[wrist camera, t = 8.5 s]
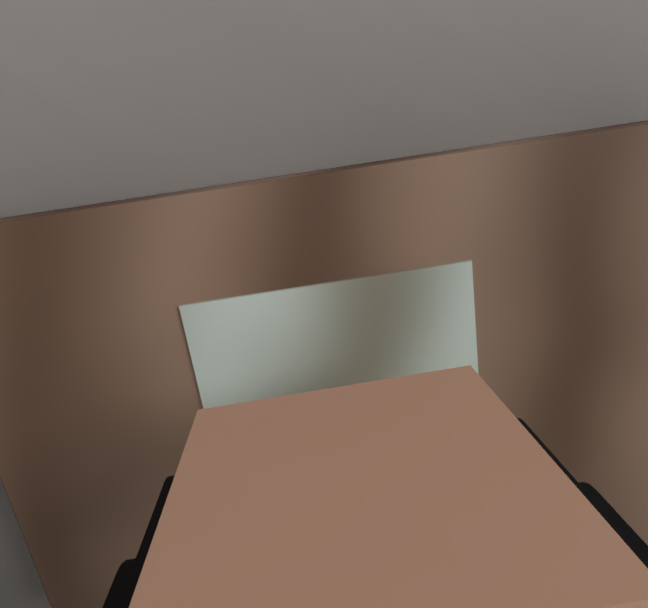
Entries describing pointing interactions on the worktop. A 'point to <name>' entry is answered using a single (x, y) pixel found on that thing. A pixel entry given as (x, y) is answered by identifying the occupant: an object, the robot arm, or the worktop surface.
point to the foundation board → (319, 321)
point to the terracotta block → (380, 508)
